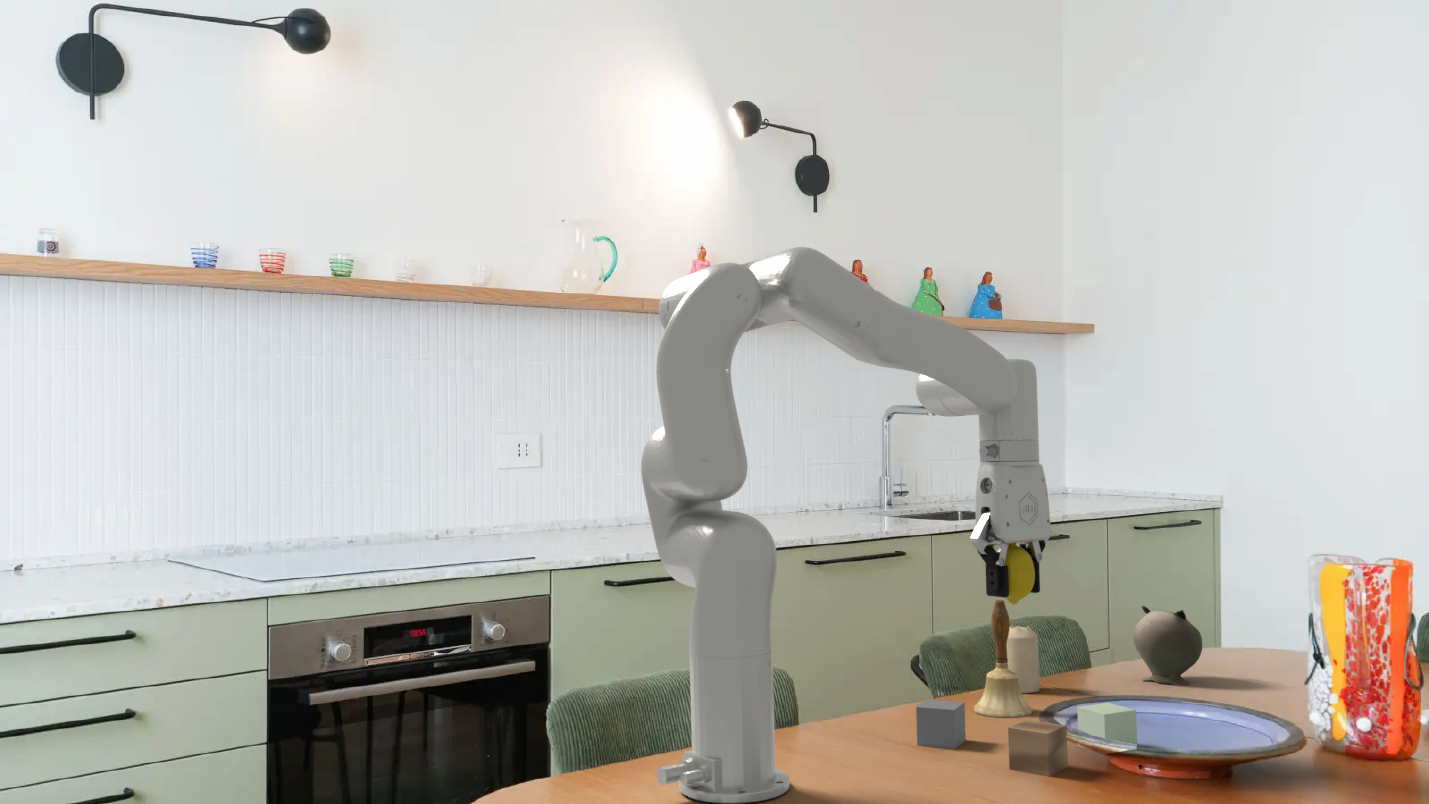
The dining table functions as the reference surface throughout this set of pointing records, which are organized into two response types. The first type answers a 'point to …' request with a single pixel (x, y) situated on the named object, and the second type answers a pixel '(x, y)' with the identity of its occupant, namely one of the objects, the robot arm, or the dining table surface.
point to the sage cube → (1108, 722)
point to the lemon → (1019, 573)
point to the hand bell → (1002, 675)
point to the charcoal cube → (940, 723)
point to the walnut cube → (1038, 747)
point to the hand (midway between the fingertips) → (1013, 592)
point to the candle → (1024, 657)
